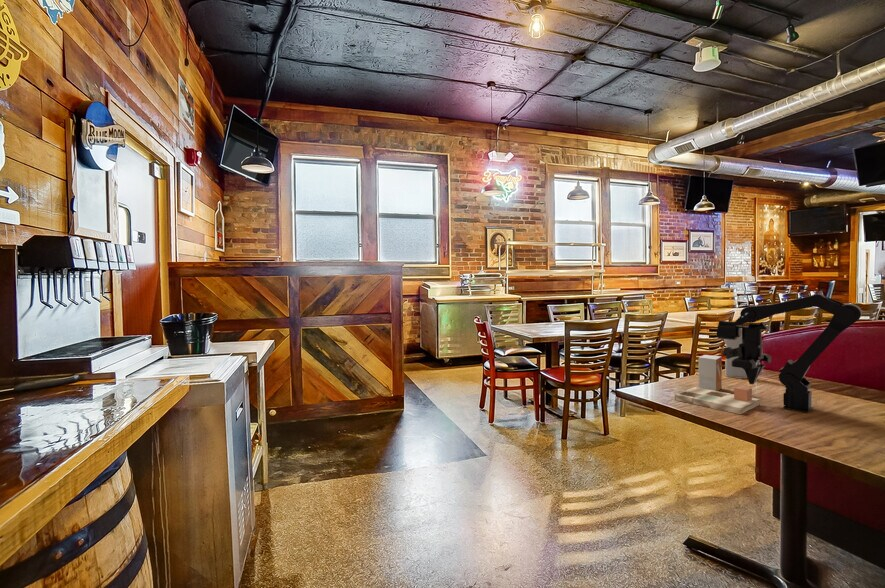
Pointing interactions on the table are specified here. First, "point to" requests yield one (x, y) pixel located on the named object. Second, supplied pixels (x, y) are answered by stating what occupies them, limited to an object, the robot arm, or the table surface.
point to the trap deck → (716, 400)
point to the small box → (710, 372)
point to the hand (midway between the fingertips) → (751, 384)
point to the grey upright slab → (730, 370)
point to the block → (743, 393)
